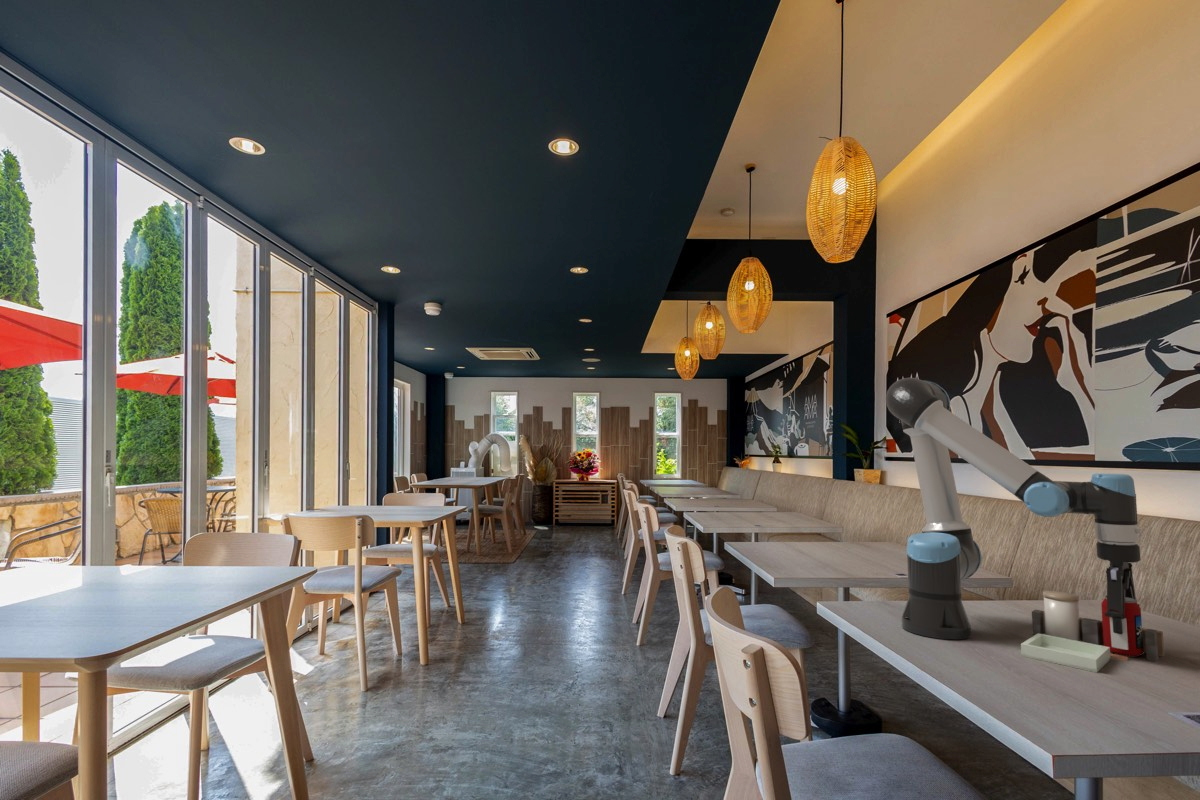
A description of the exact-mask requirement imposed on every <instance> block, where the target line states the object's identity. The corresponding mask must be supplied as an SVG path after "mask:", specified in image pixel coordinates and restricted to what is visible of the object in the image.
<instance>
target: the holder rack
mask: <svg viewBox="0 0 1200 800" xmlns="http://www.w3.org/2000/svg"><path fill="white" fill-rule="evenodd" d="M1079 622H1080V641H1081V642H1086V643H1091V644H1096V645H1101V646H1104V641H1103V626H1102V620H1099V619H1093V618H1087V617H1080V616H1079ZM1031 624H1032V637H1033V636H1034V635H1036V634H1038V633H1039V634H1044V635H1045V614H1044V610H1040V609H1034V610H1032V611H1031ZM1142 636H1143V654H1146V660H1148V661H1152V662H1157V661H1158V660H1159V657H1164V656H1165V646H1164V644H1165V643H1164V631H1162V630H1157V629H1152V628H1145V627H1142ZM1110 658H1111V659H1112V658H1114V659H1118V660H1123V661H1129V658H1130V657H1127V656H1121V655H1117V654H1113V653H1110Z"/></svg>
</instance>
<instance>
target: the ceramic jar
mask: <svg viewBox="0 0 1200 800" xmlns="http://www.w3.org/2000/svg"><path fill="white" fill-rule="evenodd" d="M1042 596H1043V609H1044V610H1043V611H1044V614H1045V634H1044V635H1049V636H1055V637H1060V638H1065V639H1070V640H1075V641H1080V622H1079V617H1080V607H1079V605H1080V604H1079V602H1080V597H1079V594H1076V593H1072V592H1067V591H1059V590H1043V591H1042ZM1080 642H1082V641H1080Z"/></svg>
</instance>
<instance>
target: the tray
mask: <svg viewBox="0 0 1200 800" xmlns="http://www.w3.org/2000/svg"><path fill="white" fill-rule="evenodd" d="M1110 654H1111V652H1110V647H1106V646H1104V645H1096V644H1091V643H1086V642H1083V641H1081V642H1080V641H1075V640H1070V639H1065V638H1060V637H1055V636H1049V635H1045V634H1039V633H1038V634H1036V635H1034V636H1033V635H1032V636H1031V637H1030V638H1028V639H1026V640H1025V641H1024V642H1022V643H1020V655H1021V657H1025V658H1029V659H1034V660H1039V661H1043V662H1047V663H1052V664H1055V665H1061V666H1065V667H1069V668H1075V669H1080V670H1084V671H1088V672H1093V673H1098V672H1099V671H1100V670H1101V669H1102V668H1103V667H1104V666H1105V665H1106V664H1108V663H1109V661H1111V659H1112V657H1110Z"/></svg>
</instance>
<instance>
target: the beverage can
mask: <svg viewBox="0 0 1200 800" xmlns="http://www.w3.org/2000/svg"><path fill="white" fill-rule="evenodd" d="M1136 600H1137V599H1136ZM1136 600H1135V599H1132V598H1128V597H1125V618H1126V623H1127V636H1128V650H1125V649H1120V648H1114V647H1112V644H1111V630H1110V617H1107V616H1105V613H1107V595H1105V596H1104V598H1103V600H1102V602H1101V621H1102V626H1103V641H1104V645H1103V646H1106V647H1110V654H1113V653H1114V654H1115V655H1121V656H1126V657H1129V658H1136V657H1139V656H1141V655H1143V654H1144V653H1143V636H1142V628H1143V625H1142V624H1143V623H1142V610H1141V609H1142V608H1141V607H1140V604H1139V605H1138V601H1137V602H1136ZM1113 611H1118V610H1113Z"/></svg>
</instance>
